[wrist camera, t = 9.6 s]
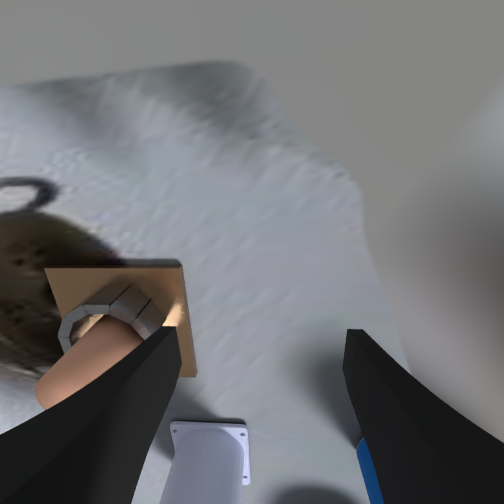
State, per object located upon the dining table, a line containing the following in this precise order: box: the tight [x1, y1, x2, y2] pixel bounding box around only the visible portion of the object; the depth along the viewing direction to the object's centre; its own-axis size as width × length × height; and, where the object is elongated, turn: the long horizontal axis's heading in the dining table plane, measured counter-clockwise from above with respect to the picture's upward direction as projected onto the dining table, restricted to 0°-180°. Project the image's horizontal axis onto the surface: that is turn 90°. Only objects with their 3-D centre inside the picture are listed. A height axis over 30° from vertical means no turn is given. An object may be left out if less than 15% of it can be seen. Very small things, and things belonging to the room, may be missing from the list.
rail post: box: [35, 315, 144, 410], centre depth 19 cm, size 4×4×7 cm
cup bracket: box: [44, 265, 197, 377], centre depth 21 cm, size 11×11×3 cm
